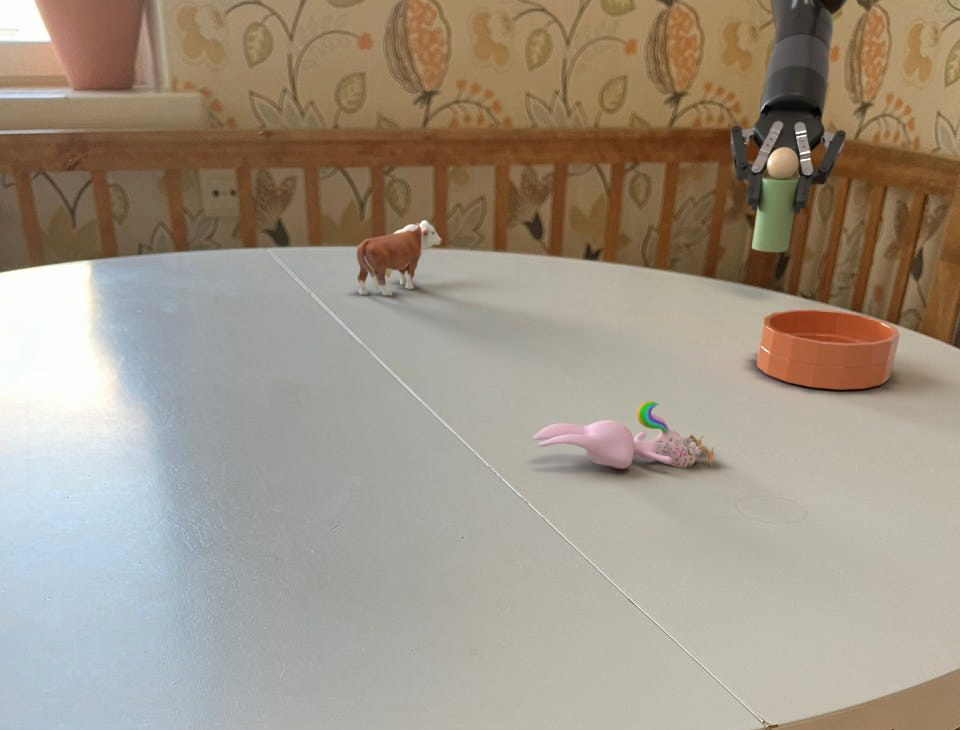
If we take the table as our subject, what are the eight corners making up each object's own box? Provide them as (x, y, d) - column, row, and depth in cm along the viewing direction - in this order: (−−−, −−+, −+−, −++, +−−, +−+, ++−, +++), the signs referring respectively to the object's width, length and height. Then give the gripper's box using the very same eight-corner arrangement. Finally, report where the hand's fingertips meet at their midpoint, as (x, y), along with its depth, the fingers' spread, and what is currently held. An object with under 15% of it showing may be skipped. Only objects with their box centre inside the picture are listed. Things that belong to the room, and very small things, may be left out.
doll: (779, 244, 131) (794, 145, 125) (794, 251, 128) (810, 149, 122) (746, 245, 131) (760, 145, 125) (760, 252, 127) (775, 149, 121)
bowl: (850, 354, 115) (859, 308, 113) (912, 392, 104) (924, 342, 102) (736, 357, 113) (744, 310, 111) (787, 397, 102) (797, 346, 100)
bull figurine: (446, 286, 138) (446, 220, 134) (370, 303, 130) (368, 234, 125) (423, 280, 141) (422, 215, 136) (347, 296, 132) (344, 228, 128)
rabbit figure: (684, 463, 91) (521, 447, 86) (704, 396, 88) (535, 376, 83) (714, 492, 85) (541, 476, 81) (736, 422, 83) (558, 402, 78)
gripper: (737, 61, 127) (716, 183, 123) (860, 65, 123) (843, 190, 120) (734, 107, 134) (714, 223, 130) (850, 111, 131) (833, 231, 127)
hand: (776, 207), depth 125 cm, fingers closed on doll, 4 cm apart
